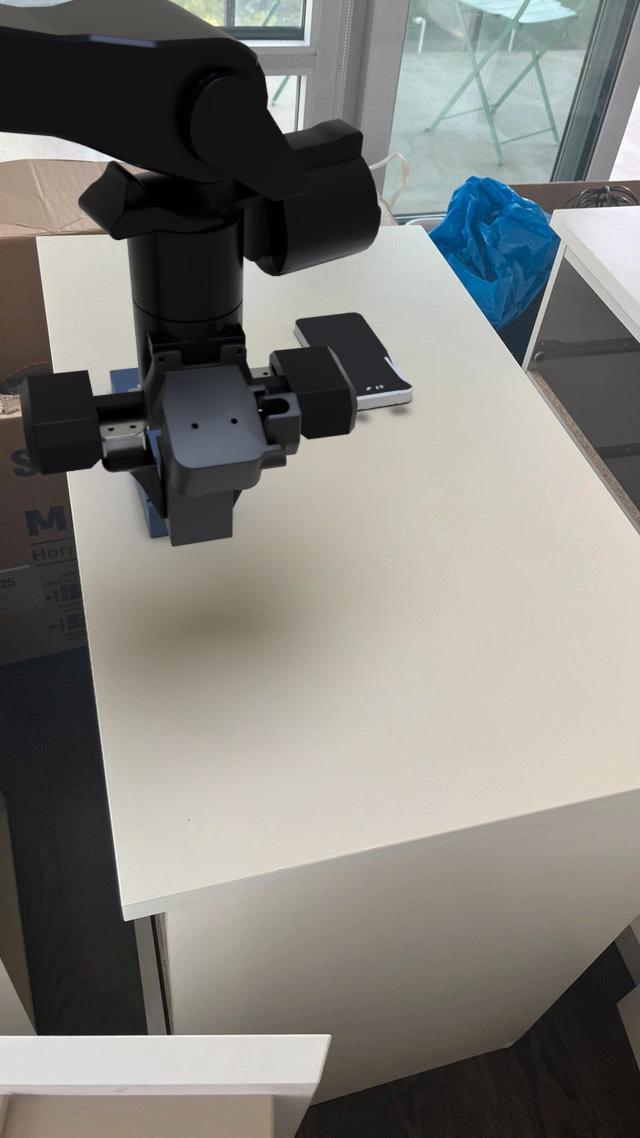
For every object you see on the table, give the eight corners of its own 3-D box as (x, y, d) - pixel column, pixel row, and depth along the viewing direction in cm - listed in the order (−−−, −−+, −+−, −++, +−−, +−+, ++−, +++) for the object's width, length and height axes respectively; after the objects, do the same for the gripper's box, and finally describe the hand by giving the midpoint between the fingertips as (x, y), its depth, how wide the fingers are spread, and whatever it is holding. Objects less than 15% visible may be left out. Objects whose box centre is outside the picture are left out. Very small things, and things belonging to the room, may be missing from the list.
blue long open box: (150, 538, 69) (148, 507, 66) (111, 392, 81) (108, 360, 79) (227, 525, 71) (228, 494, 68) (178, 384, 83) (176, 353, 80)
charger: (171, 547, 55) (167, 477, 50) (160, 505, 57) (155, 435, 53) (233, 537, 56) (234, 468, 51) (220, 496, 58) (220, 427, 54)
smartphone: (359, 311, 93) (416, 391, 83) (357, 322, 94) (413, 402, 84) (293, 319, 90) (344, 402, 81) (292, 330, 91) (342, 413, 82)
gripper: (9, 409, 37) (61, 631, 48) (410, 363, 41) (369, 575, 53) (-5, 276, 44) (43, 498, 55) (339, 251, 48) (317, 460, 60)
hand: (195, 509), depth 56 cm, fingers closed on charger, 4 cm apart
